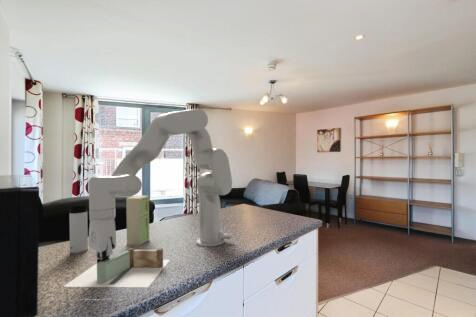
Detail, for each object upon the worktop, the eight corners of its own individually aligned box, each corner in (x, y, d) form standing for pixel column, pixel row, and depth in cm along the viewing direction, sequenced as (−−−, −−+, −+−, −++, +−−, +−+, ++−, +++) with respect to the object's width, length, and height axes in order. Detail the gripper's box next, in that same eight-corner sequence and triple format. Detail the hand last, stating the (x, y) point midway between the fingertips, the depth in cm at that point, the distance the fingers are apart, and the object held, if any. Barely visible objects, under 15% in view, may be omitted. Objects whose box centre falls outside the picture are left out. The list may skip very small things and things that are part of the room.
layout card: (170, 260, 93) (170, 259, 93) (148, 288, 73) (148, 287, 73) (102, 260, 94) (102, 259, 94) (62, 287, 74) (62, 286, 74)
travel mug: (68, 256, 99) (67, 206, 99) (71, 251, 105) (70, 203, 105) (87, 253, 102) (86, 204, 102) (88, 248, 107) (87, 202, 107)
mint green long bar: (126, 266, 87) (126, 249, 87) (130, 267, 86) (130, 250, 86) (97, 282, 76) (96, 263, 76) (101, 283, 75) (100, 263, 75)
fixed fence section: (163, 265, 88) (162, 248, 88) (161, 267, 86) (161, 250, 86) (129, 265, 89) (129, 248, 89) (127, 267, 87) (127, 250, 87)
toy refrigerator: (141, 245, 109) (140, 198, 109) (126, 245, 111) (125, 197, 111) (151, 240, 117) (150, 195, 117) (137, 239, 119) (136, 195, 119)
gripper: (81, 212, 83) (81, 268, 83) (100, 219, 73) (101, 281, 73) (104, 209, 89) (105, 260, 89) (125, 214, 79) (126, 272, 79)
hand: (103, 269), depth 81 cm, fingers closed
